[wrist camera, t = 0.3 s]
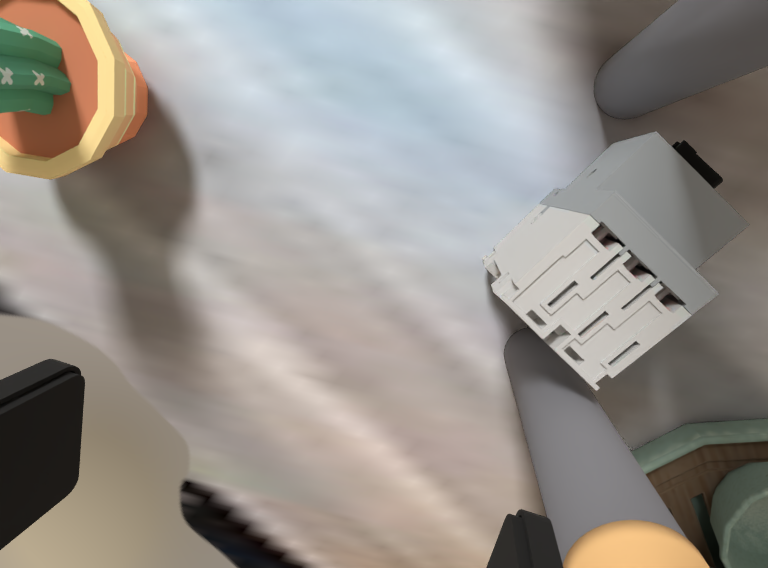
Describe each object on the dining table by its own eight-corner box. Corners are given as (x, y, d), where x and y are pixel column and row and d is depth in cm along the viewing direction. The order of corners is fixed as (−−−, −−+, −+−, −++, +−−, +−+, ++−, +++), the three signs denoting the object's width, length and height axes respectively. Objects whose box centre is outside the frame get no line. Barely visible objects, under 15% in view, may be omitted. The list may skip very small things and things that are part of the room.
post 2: (513, 319, 40) (597, 520, 16) (571, 335, 40) (750, 570, 15) (495, 371, 41) (548, 631, 17) (551, 388, 41) (688, 681, 17)
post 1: (606, 41, 34) (955, -298, 10) (676, 56, 34) (1214, -264, 10) (582, 112, 36) (843, -44, 12) (649, 127, 35) (1068, -2, 11)
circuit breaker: (680, 197, 36) (831, 204, 21) (543, 317, 40) (592, 393, 25) (614, 131, 36) (721, 93, 21) (482, 258, 39) (496, 301, 25)
